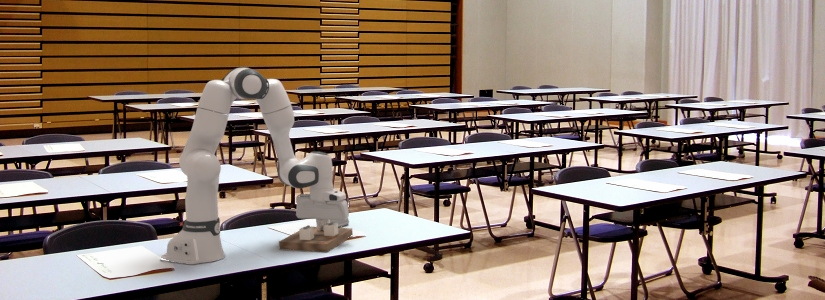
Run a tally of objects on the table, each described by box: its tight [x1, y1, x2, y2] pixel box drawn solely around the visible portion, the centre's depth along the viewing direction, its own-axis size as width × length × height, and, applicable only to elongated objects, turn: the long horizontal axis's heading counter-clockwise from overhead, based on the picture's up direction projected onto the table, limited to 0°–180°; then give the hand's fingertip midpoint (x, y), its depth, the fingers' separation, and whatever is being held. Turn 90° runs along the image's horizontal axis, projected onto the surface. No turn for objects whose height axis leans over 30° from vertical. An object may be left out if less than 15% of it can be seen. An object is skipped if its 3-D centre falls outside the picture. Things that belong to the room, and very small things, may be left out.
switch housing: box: [278, 226, 354, 253], centre depth 319 cm, size 19×26×3 cm
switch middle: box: [324, 222, 338, 236], centre depth 317 cm, size 4×4×5 cm
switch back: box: [315, 219, 330, 230], centre depth 327 cm, size 4×4×5 cm
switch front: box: [298, 225, 315, 240], centre depth 311 cm, size 4×4×5 cm
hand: (322, 230), depth 319 cm, fingers closed
